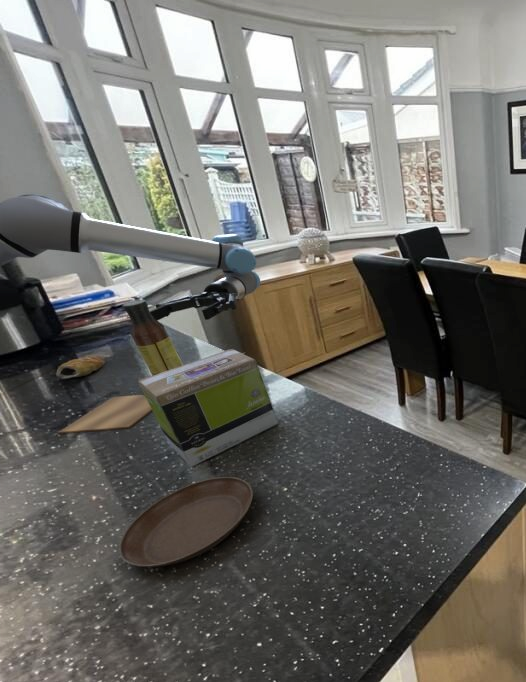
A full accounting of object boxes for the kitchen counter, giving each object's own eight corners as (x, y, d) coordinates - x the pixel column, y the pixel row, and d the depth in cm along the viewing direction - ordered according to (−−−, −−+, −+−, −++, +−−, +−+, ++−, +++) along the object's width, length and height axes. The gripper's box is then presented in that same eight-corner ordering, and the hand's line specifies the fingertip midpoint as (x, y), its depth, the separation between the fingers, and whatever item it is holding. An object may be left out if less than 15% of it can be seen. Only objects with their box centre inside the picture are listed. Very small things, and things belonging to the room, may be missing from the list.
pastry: (87, 363, 106) (81, 350, 105) (115, 361, 107) (108, 349, 105) (55, 380, 98) (47, 367, 96) (85, 378, 99) (78, 364, 97)
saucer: (239, 560, 51) (232, 545, 50) (99, 594, 47) (89, 579, 46) (269, 480, 64) (264, 467, 63) (161, 502, 60) (154, 489, 59)
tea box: (256, 409, 83) (234, 346, 77) (279, 425, 78) (257, 358, 72) (169, 448, 72) (135, 378, 66) (189, 470, 66) (154, 395, 60)
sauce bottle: (184, 369, 101) (153, 295, 93) (188, 377, 97) (156, 301, 89) (152, 378, 97) (116, 302, 89) (154, 387, 93) (117, 308, 85)
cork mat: (59, 433, 77) (58, 432, 77) (113, 398, 89) (113, 396, 89) (129, 428, 78) (128, 426, 78) (174, 394, 90) (173, 392, 90)
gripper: (270, 301, 122) (232, 326, 103) (185, 306, 121) (131, 333, 101) (263, 278, 119) (223, 299, 100) (176, 282, 117) (118, 305, 98)
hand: (176, 316), depth 101 cm, fingers open, 13 cm apart
